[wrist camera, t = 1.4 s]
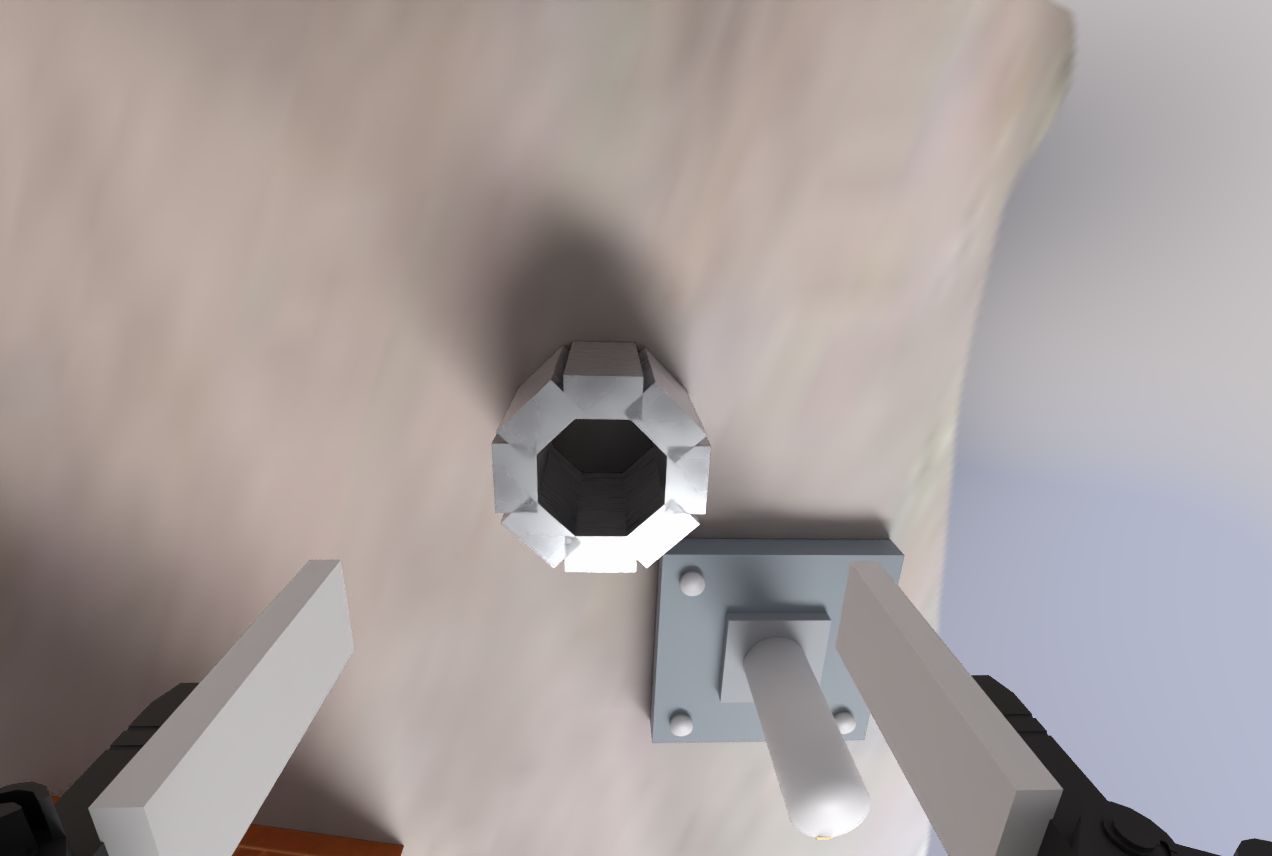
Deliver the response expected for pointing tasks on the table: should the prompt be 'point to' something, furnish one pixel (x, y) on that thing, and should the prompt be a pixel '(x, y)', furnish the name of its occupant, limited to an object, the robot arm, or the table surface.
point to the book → (303, 843)
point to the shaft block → (767, 663)
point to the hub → (600, 502)
